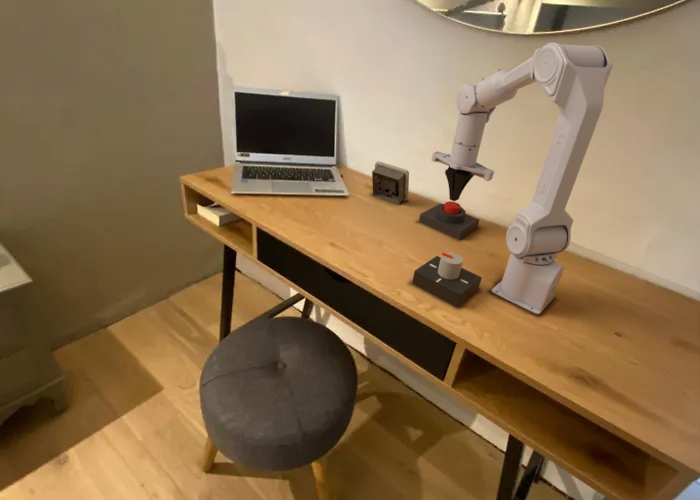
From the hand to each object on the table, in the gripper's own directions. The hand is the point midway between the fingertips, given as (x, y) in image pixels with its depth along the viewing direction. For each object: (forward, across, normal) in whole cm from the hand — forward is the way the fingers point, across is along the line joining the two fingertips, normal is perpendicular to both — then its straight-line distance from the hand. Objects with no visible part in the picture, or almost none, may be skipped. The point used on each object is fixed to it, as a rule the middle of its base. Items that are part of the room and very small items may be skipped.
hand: (454, 199), depth 109 cm
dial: (+4, +13, -23) cm, 27 cm away
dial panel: (+7, +13, -23) cm, 27 cm away
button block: (+7, 0, 0) cm, 7 cm away
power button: (+3, 0, 0) cm, 3 cm away
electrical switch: (+7, -18, 0) cm, 19 cm away
